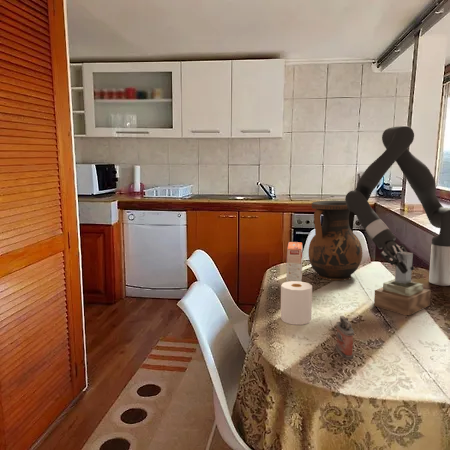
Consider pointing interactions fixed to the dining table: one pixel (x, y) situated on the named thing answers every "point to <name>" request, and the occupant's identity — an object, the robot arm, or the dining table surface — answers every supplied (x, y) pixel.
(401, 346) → the dining table surface
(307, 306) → the toilet paper
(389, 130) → the robot arm
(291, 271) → the cracker box
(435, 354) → the dining table surface
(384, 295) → the stand
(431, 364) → the dining table surface
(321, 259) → the vase
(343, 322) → the lighter
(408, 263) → the peg
